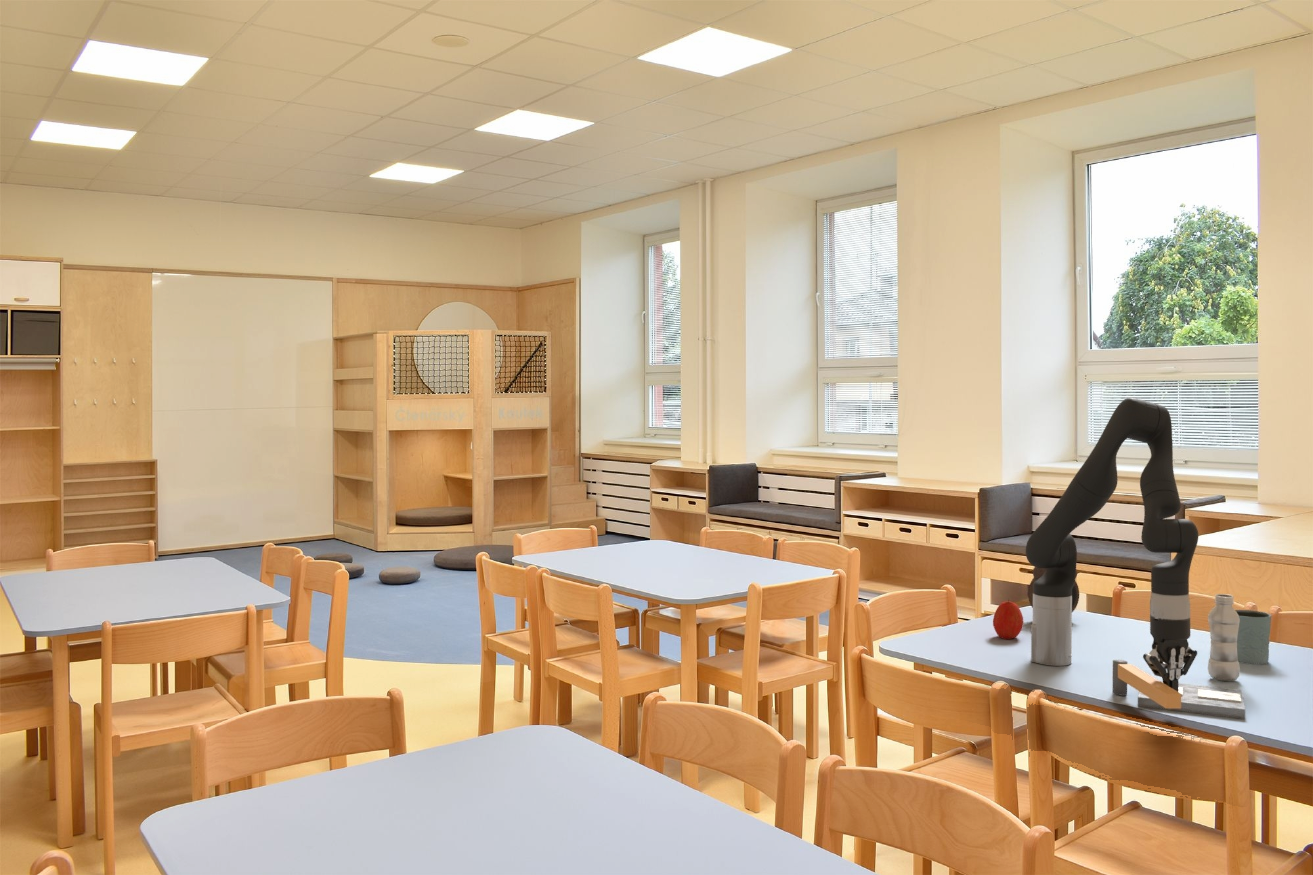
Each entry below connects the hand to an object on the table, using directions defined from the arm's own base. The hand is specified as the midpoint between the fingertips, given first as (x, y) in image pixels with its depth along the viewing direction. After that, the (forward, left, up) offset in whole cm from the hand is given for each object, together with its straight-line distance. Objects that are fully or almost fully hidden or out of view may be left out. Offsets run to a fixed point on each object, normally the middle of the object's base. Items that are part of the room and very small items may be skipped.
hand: (1170, 696), depth 212 cm
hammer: (-5, +1, -4) cm, 6 cm away
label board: (+4, +12, -4) cm, 13 cm away
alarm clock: (-32, +88, -4) cm, 94 cm away
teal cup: (+17, +60, -4) cm, 62 cm away
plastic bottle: (+11, +36, -4) cm, 38 cm away
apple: (-41, +59, -4) cm, 72 cm away
